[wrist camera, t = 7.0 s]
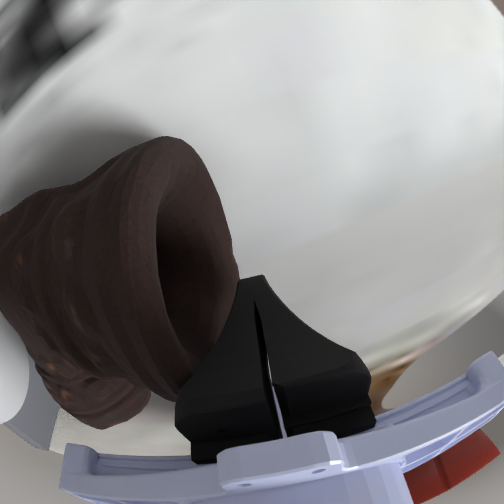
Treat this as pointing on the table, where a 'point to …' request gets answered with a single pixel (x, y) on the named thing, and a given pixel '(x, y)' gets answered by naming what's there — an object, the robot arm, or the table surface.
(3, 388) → the duct panel
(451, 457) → the plant pot
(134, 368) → the dark brown rounded piece
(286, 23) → the table surface
